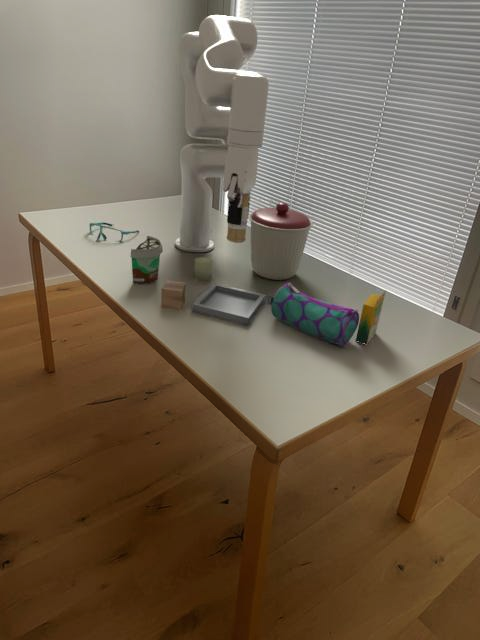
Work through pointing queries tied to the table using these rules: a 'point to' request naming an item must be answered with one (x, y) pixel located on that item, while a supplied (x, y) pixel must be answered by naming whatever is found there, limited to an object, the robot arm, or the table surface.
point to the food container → (146, 261)
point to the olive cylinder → (203, 268)
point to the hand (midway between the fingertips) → (237, 220)
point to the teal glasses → (109, 228)
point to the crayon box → (370, 318)
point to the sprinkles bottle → (239, 231)
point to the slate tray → (229, 303)
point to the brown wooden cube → (173, 294)
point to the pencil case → (314, 315)
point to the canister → (278, 241)
